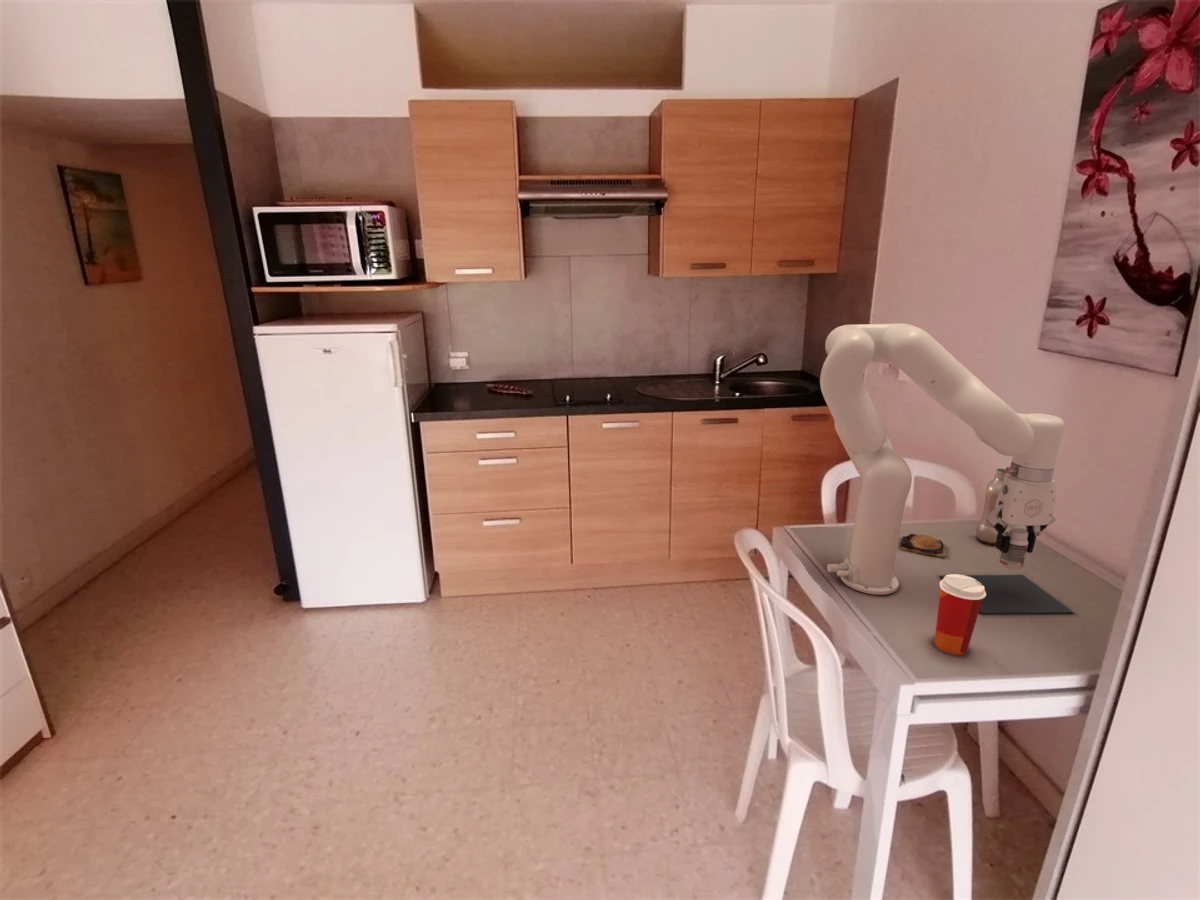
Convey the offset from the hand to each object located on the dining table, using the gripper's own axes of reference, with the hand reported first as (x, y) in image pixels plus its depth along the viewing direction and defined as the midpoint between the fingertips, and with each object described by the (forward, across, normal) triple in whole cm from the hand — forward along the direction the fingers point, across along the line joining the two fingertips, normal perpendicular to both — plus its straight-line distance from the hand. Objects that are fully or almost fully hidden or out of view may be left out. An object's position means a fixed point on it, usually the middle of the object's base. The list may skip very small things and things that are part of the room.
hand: (1013, 549), depth 135 cm
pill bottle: (+4, 0, 0) cm, 4 cm away
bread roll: (+11, -6, +23) cm, 26 cm away
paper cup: (+11, -23, -19) cm, 32 cm away
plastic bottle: (+11, +14, +27) cm, 32 cm away
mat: (+11, 0, 0) cm, 11 cm away
